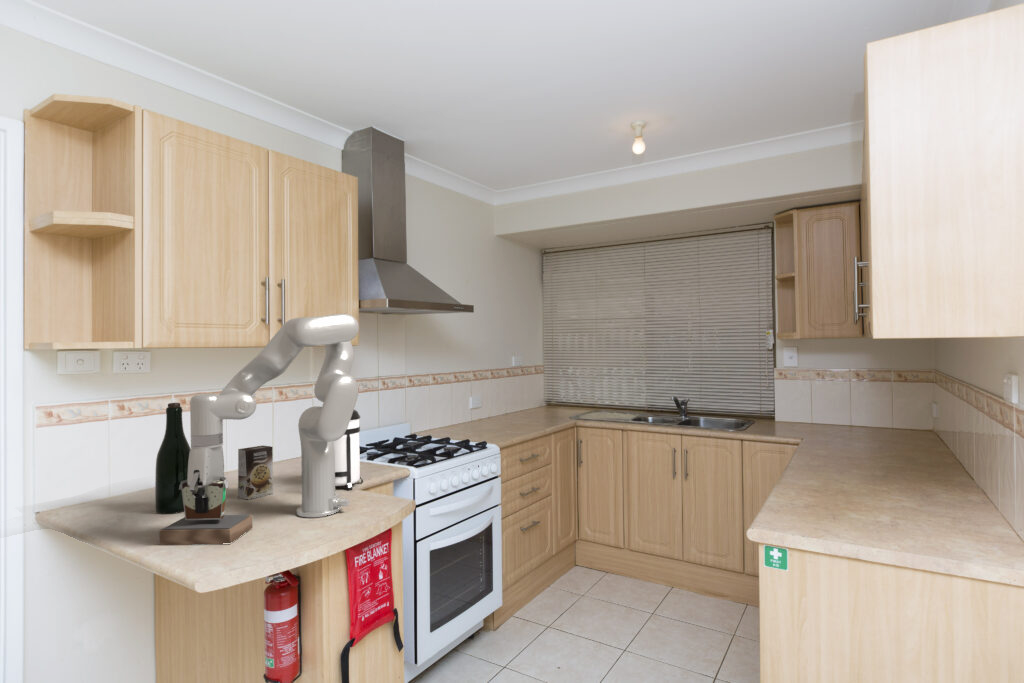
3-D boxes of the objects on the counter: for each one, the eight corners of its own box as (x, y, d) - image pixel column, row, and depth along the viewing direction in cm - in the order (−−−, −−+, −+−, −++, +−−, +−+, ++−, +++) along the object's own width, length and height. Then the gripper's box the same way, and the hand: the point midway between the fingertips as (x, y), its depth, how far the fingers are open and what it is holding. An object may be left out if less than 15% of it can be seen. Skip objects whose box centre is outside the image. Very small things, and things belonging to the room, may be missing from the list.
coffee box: (247, 500, 182) (246, 450, 182) (237, 497, 186) (237, 448, 186) (273, 493, 190) (273, 446, 190) (263, 491, 194) (263, 444, 194)
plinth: (252, 528, 154) (252, 514, 154) (230, 544, 142) (229, 528, 142) (187, 529, 154) (187, 514, 154) (159, 545, 142) (159, 529, 142)
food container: (238, 511, 152) (237, 475, 152) (226, 519, 145) (225, 480, 145) (193, 512, 152) (192, 476, 152) (179, 520, 146) (178, 481, 146)
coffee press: (312, 485, 200) (311, 401, 200) (356, 479, 209) (355, 398, 209) (325, 496, 185) (324, 406, 185) (372, 489, 194) (371, 402, 194)
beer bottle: (179, 503, 180) (178, 400, 180) (202, 506, 176) (201, 401, 176) (147, 512, 170) (146, 404, 170) (171, 516, 166) (169, 405, 166)
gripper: (210, 435, 157) (211, 500, 157) (173, 447, 139) (174, 519, 139) (237, 435, 156) (238, 500, 156) (203, 446, 139) (204, 519, 139)
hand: (208, 508), depth 148 cm, fingers closed on food container, 5 cm apart
